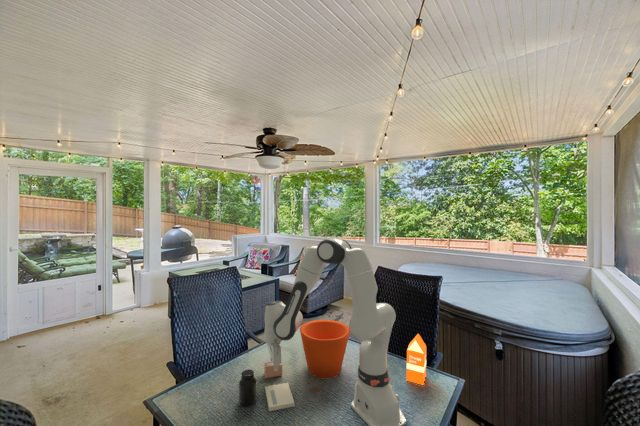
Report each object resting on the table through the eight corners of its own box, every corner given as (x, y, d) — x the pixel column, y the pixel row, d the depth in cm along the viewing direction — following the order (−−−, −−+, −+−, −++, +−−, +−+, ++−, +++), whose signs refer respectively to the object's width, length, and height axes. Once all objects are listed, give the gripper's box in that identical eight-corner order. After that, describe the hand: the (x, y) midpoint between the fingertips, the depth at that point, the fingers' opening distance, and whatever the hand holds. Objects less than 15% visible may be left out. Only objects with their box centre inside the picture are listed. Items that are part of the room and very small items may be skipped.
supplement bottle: (249, 394, 117) (249, 366, 117) (259, 401, 113) (260, 371, 113) (235, 402, 112) (235, 373, 112) (245, 410, 107) (245, 379, 107)
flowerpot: (349, 357, 148) (349, 320, 148) (349, 386, 123) (350, 342, 124) (303, 354, 151) (304, 318, 151) (294, 382, 126) (295, 338, 126)
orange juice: (406, 381, 128) (406, 338, 128) (409, 372, 135) (410, 331, 136) (424, 386, 124) (424, 341, 124) (426, 376, 132) (426, 334, 132)
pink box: (282, 375, 131) (282, 364, 131) (265, 378, 128) (265, 367, 128) (280, 370, 135) (281, 360, 135) (264, 373, 132) (264, 362, 132)
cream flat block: (294, 406, 110) (294, 402, 110) (269, 411, 107) (269, 407, 107) (287, 385, 123) (287, 381, 123) (265, 389, 120) (265, 385, 120)
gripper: (284, 344, 122) (284, 375, 122) (277, 327, 142) (277, 354, 141) (270, 346, 120) (270, 378, 120) (264, 328, 140) (264, 356, 139)
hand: (274, 365), depth 131 cm, fingers open, 8 cm apart
